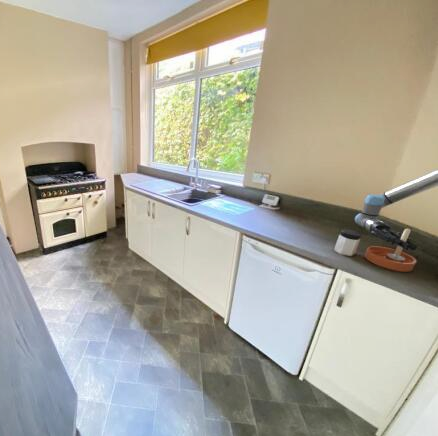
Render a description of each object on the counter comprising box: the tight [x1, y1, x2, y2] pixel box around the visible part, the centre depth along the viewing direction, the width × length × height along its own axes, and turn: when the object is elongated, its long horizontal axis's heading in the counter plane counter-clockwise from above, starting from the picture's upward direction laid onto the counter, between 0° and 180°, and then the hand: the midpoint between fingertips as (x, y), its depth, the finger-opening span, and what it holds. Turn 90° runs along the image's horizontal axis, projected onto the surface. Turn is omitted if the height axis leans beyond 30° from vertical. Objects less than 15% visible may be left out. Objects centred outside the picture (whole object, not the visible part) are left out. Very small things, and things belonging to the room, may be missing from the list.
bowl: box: [364, 245, 418, 273], centre depth 117 cm, size 17×17×5 cm
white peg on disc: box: [385, 228, 411, 263], centre depth 113 cm, size 6×6×18 cm
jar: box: [333, 228, 362, 257], centre depth 125 cm, size 9×8×12 cm
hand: (411, 247), depth 107 cm, fingers closed on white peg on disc, 2 cm apart
